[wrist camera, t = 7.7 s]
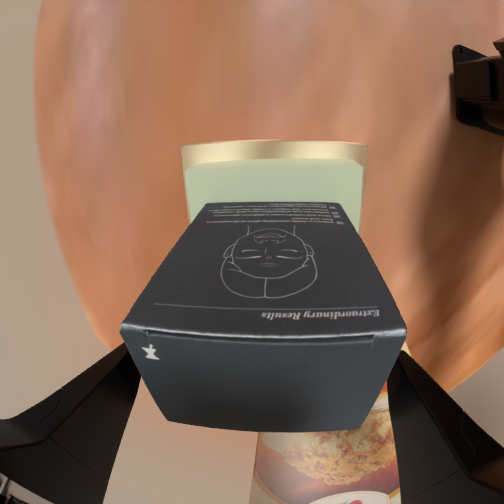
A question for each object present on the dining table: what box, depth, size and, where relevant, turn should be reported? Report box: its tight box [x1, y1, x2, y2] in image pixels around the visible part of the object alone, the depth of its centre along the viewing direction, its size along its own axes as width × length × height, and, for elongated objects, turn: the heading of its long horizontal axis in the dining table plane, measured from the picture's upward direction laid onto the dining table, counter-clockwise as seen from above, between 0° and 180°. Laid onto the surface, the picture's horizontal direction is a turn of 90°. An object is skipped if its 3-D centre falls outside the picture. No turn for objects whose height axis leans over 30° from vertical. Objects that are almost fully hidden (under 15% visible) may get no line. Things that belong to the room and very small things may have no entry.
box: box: [119, 202, 407, 433], centre depth 12 cm, size 8×6×11 cm
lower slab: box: [181, 140, 368, 236], centre depth 20 cm, size 12×12×2 cm
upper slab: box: [185, 158, 363, 233], centre depth 18 cm, size 10×10×2 cm
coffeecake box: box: [249, 341, 411, 504], centre depth 19 cm, size 15×7×20 cm, turn 113°
